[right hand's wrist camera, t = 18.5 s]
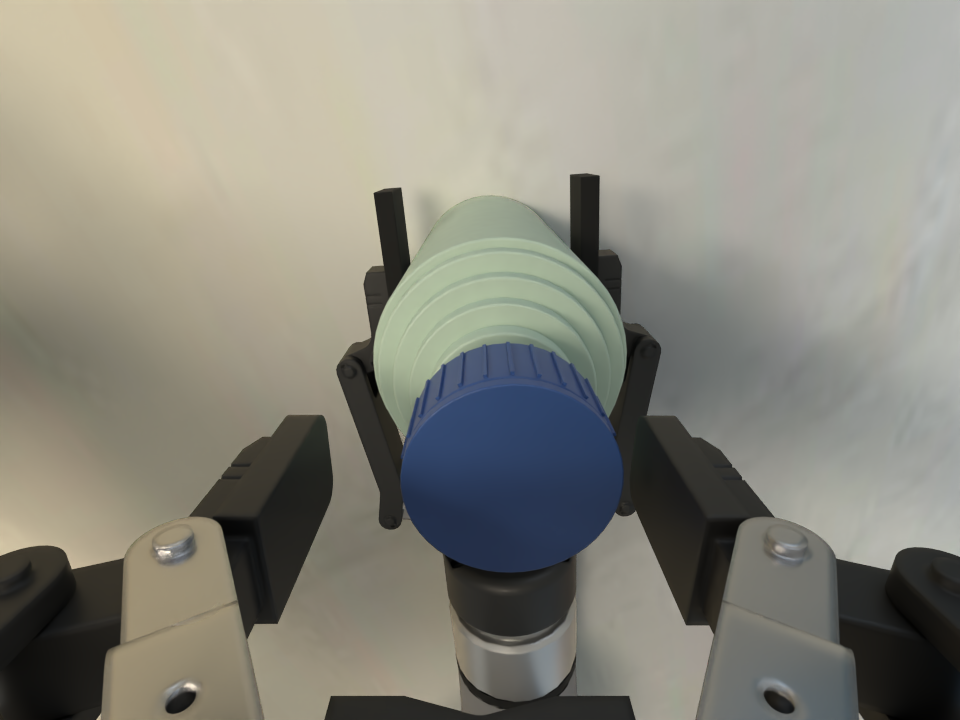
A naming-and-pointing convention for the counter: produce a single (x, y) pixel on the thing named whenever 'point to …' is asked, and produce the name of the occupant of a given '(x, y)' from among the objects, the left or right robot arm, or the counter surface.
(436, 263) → the bottle
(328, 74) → the counter surface
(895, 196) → the counter surface
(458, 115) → the counter surface
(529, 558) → the cap
